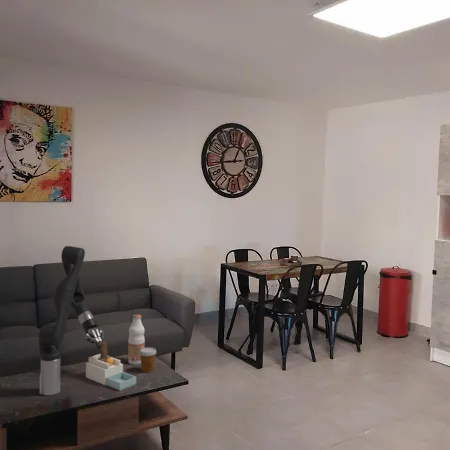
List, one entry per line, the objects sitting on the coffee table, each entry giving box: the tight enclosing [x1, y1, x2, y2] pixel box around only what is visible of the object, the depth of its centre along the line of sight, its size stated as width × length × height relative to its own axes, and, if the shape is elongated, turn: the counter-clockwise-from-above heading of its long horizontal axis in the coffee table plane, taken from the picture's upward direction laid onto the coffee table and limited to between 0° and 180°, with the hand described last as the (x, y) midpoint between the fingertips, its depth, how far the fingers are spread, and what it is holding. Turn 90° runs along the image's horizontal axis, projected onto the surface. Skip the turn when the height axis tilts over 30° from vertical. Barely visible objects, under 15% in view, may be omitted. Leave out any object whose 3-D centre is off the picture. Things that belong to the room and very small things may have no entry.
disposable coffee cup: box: [139, 347, 157, 374], centre depth 277 cm, size 10×10×12 cm
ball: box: [106, 357, 113, 365], centre depth 262 cm, size 4×4×4 cm
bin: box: [105, 371, 137, 391], centre depth 257 cm, size 11×11×4 cm
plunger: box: [98, 341, 112, 362], centre depth 265 cm, size 5×4×11 cm
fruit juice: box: [127, 314, 146, 366], centre depth 290 cm, size 9×9×28 cm
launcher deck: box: [85, 353, 124, 386], centre depth 265 cm, size 12×16×10 cm
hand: (101, 348), depth 266 cm, fingers closed
